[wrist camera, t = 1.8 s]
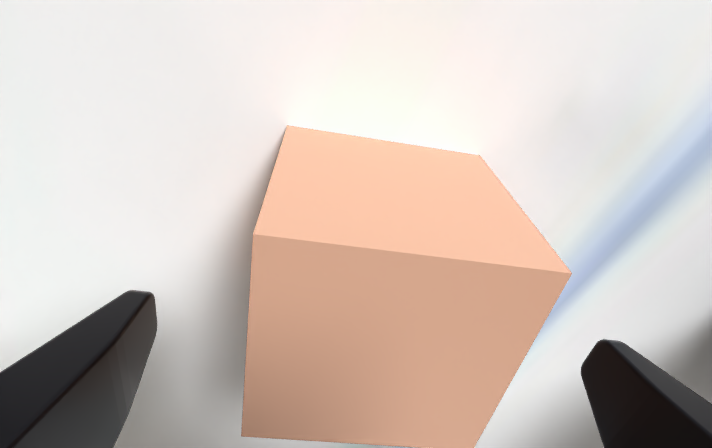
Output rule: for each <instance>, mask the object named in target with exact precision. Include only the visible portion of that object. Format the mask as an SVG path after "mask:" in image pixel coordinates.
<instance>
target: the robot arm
mask: <svg viewBox="0 0 712 448" xmlns="http://www.w3.org/2000/svg"><path fill="white" fill-rule="evenodd" d="M156 332H157V317H156V306H155V297H154V295H153V294H152V293H151V292H145V291H136V290H130V291H127V292H125V293H123V294H122V295H120V296H119V297H117V298H116V299H114V300H112V301H111V302H109V303H108V304H106V305H105V306H103V307H101V308H100V309H98V310H97V311H95V312H94V313H92V314H91V315H89V316H87V317H86V318H84V319H83V320H81V321H80V322H78V323H77V324H75V325H73V326H72V327H70V328H69V329H67V330H66V331H64V332H62V333H61V334H59V335H58V336H56V337H55V338H53V339H52V340H50V341H48V342H47V343H45V344H44V345H42V346H41V347H39V348H37V349H36V350H34V351H33V352H31V353H30V354H28V355H27V356H25V357H23V358H22V359H20V360H19V361H17V362H16V363H14V364H12V365H11V366H9V367H8V368H6V369H5V370H3V371H2V372H0V448H113V447H114V445H115V442H116V440H117V438H118V436H119V434H120V432H121V430H122V428H123V425H124V423H125V421H126V419H127V416H128V414H129V411H130V408H131V406H132V403H133V400H134V397H135V394H136V391H137V388H138V386H139V383H140V380H141V377H142V374H143V371H144V368H145V365H146V362H147V359H148V357H149V354H150V351H151V348H152V345H153V342H154V339H155V336H156ZM581 376H582V380H583V383H584V386H585V389H586V392H587V395H588V399H589V402H590V405H591V408H592V411H593V414H594V418H595V421H596V424H597V427H598V430H599V433H600V436H601V439H602V442H603V445H604V448H712V404H711V403H709V402H708V401H706V400H705V399H703V398H702V397H701V396H699V395H698V394H696V393H695V392H693V391H692V390H691V389H689V388H688V387H686V386H685V385H683V384H682V383H681V382H679V381H678V380H676V379H675V378H673V377H672V376H670V375H669V374H668V373H666V372H665V371H663V370H662V369H660V368H659V367H658V366H656V365H655V364H653V363H652V362H650V361H649V360H648V359H646V358H645V357H643V356H642V355H640V354H639V353H638V352H636V351H635V350H633V349H632V348H630V347H629V346H628V345H626V344H625V343H623V342H620V341H615V340H606V339H603V340H600V341H598V342H597V343H596V345H595V346H594V348H593V349H592V350H591V352H590V353H589V355H588V356H587V358H586V359H585V361H584V362H583V364H582V367H581Z"/></svg>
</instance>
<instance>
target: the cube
mask: <svg viewBox="0 0 712 448" xmlns="http://www.w3.org/2000/svg"><path fill="white" fill-rule="evenodd" d="M571 274H572V273H571V271H570V270H569V269H568V268H567V266H566V265H565V264H564V263H563V261H562V260H561V259H560V257H559V256H558V255H557V254H556V252H555V251H554V250H553V248H552V247H551V246H550V245H549V243H548V242H547V241H546V239H545V238H544V237H543V236H542V234H541V233H540V232H539V230H538V229H537V228H536V227H535V225H534V224H533V223H532V222H531V220H530V219H529V218H528V216H527V215H526V214H525V213H524V211H523V210H522V209H521V207H520V206H519V205H518V204H517V202H516V201H515V200H514V198H513V197H512V196H511V195H510V193H509V192H508V191H507V189H506V188H505V187H504V186H503V184H502V183H501V182H500V180H499V179H498V178H497V177H496V175H495V174H494V173H493V172H492V170H491V169H490V168H489V166H488V165H487V164H486V163H485V161H484V160H483V159H482V157H481V156H480V155H473V154H467V153H460V152H454V151H448V150H441V149H435V148H428V147H422V146H416V145H409V144H403V143H397V142H390V141H384V140H377V139H371V138H365V137H358V136H352V135H346V134H339V133H333V132H326V131H320V130H314V129H307V128H301V127H294V126H288V125H287V128H286V131H285V134H284V138H283V141H282V144H281V147H280V150H279V153H278V157H277V160H276V163H275V166H274V169H273V172H272V176H271V179H270V182H269V185H268V188H267V191H266V195H265V198H264V201H263V204H262V207H261V210H260V214H259V217H258V220H257V223H256V226H255V229H254V233H253V244H252V261H251V278H250V295H249V312H248V329H247V346H246V364H245V381H244V398H243V415H242V432H241V436H243V437H259V438H275V439H291V440H307V441H323V442H339V443H355V444H371V445H387V446H403V447H419V448H474V447H475V445H476V443H477V441H478V440H479V438H480V436H481V434H482V432H483V431H484V429H485V427H486V425H487V424H488V422H489V420H490V418H491V416H492V415H493V413H494V411H495V409H496V408H497V406H498V404H499V402H500V400H501V399H502V397H503V395H504V393H505V392H506V390H507V388H508V386H509V384H510V383H511V381H512V379H513V377H514V376H515V374H516V372H517V370H518V368H519V367H520V365H521V363H522V361H523V360H524V358H525V356H526V354H527V352H528V351H529V349H530V347H531V345H532V344H533V342H534V340H535V338H536V336H537V335H538V333H539V331H540V329H541V328H542V326H543V324H544V322H545V320H546V319H547V317H548V315H549V313H550V312H551V310H552V308H553V306H554V304H555V303H556V301H557V299H558V297H559V296H560V294H561V292H562V290H563V288H564V287H565V285H566V283H567V281H568V280H569V278H570V276H571Z"/></svg>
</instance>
